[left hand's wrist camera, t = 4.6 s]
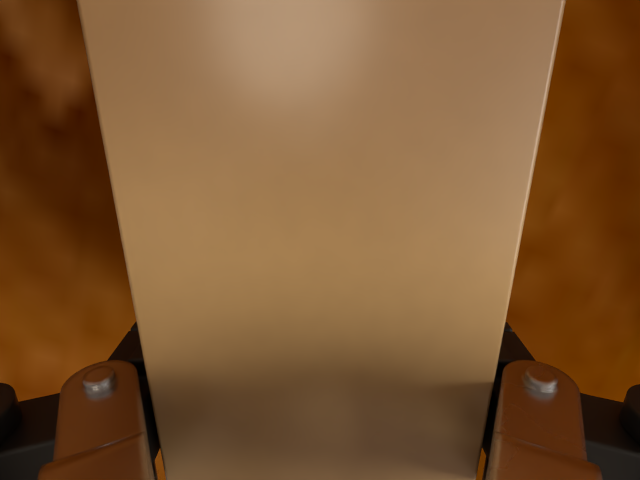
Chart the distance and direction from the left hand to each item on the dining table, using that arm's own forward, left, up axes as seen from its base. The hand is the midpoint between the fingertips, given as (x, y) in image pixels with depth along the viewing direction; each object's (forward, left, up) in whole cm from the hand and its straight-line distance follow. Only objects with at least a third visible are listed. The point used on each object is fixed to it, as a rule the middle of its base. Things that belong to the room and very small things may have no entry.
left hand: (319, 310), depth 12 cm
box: (+2, +7, -6) cm, 9 cm away
